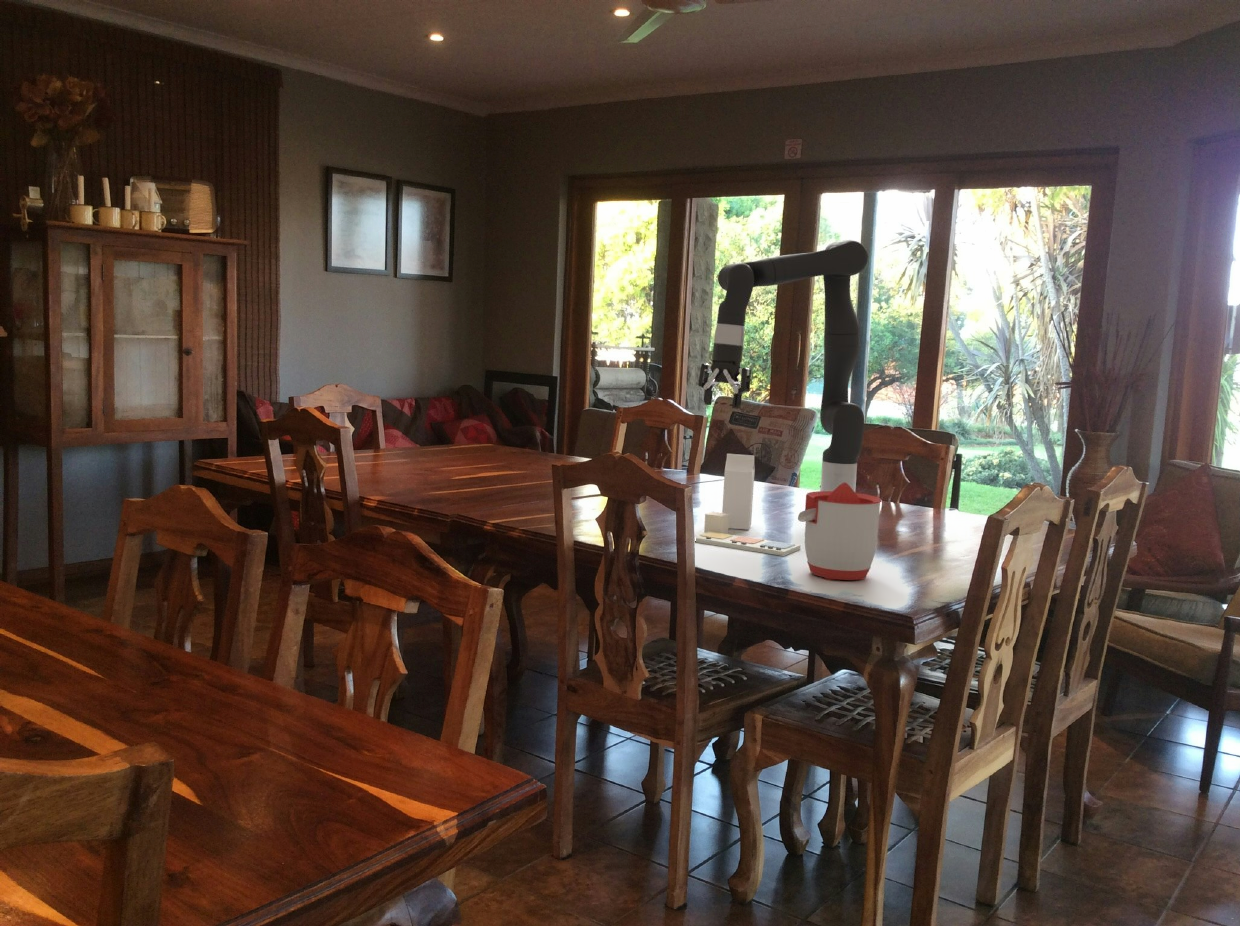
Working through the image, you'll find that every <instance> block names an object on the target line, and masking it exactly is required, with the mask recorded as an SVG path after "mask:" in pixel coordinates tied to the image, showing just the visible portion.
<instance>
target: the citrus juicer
mask: <svg viewBox="0 0 1240 926" xmlns="http://www.w3.org/2000/svg"><path fill="white" fill-rule="evenodd" d="M882 501H883V500H882V499H881V498H880V497H878V496H876V495H875V496H874V495H871V494H864V493H857V492H856V491H855V492H854V491H853V489H852V488H851V487H850V486H849V485H848V484H847V483H845V482H844V483H842V484H841V485H839V486H838V487H837V488H836V489H835V490H834V491H820V490H819V491H812V492H807V493H806V495H805V509H804V510H803V511H800V512H799V513H798V515H797V516H798V517H797V521H798V522H801V523H804V522H805V526H804V546H805V547H804V549H805V555H806V559H807V565H808V568H809V571H810V573H812V574H813V575H815V576H818V577H821V578H825V579H826V580H829V581H835V580H845V581H854V580H857V581H861V580H863V579H865V578H867V575H868V573H869V571H870V570H871V567H872V563H873V561H874V557H875V554H876V550H877V543H878V536H879V535H878V534H879V521H880V520H879V519H880V511H881V510H880V508H881V507H880V506H881V503H882Z"/></svg>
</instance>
